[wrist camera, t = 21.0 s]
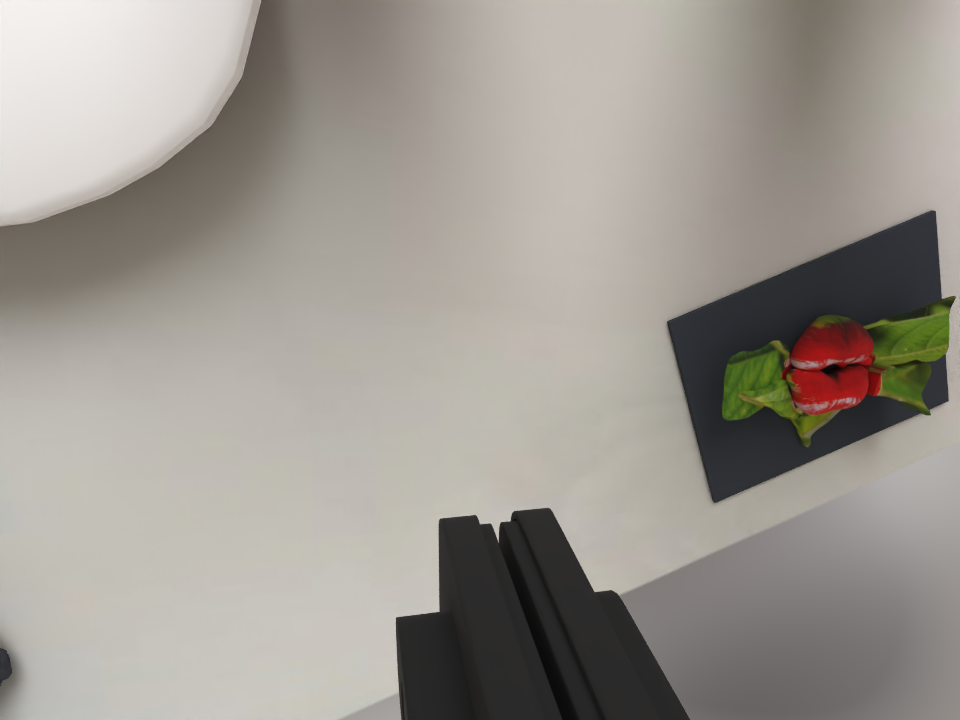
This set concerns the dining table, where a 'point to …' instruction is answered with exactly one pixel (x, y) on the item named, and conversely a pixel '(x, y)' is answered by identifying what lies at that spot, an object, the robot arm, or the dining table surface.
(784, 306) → the mat
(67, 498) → the dining table surface
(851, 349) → the decorative ornament
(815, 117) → the dining table surface
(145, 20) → the plate
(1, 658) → the dark slate chunk
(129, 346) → the dining table surface
